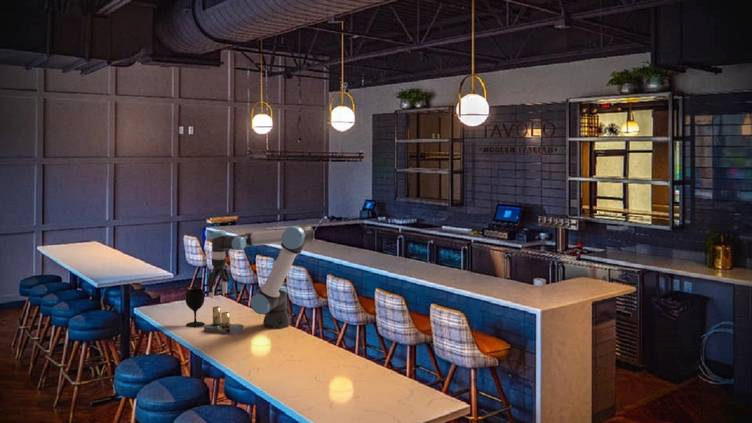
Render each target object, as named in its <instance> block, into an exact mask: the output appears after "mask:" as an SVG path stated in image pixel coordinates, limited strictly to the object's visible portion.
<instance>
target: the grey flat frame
mask: <svg viewBox="0 0 752 423" xmlns="http://www.w3.org/2000/svg"><path fill="white" fill-rule="evenodd" d="M234 324H235V323H234ZM234 324H233V323H230V326H232V325H234ZM203 332H204V333H205V332H206V333H215V334H219V335H220V334H221V335H227V334H230V327H229V328H222V327H221V323H219V322H214V323H213V322H212V323H210V324H208V325H204V327H203Z"/></svg>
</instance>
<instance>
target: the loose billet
mask: <svg viewBox="0 0 752 423" xmlns="http://www.w3.org/2000/svg"><path fill="white" fill-rule="evenodd" d="M221 313H222V312H221V306H219V305H217V306H212V323H214V322H219V323H221Z"/></svg>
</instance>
